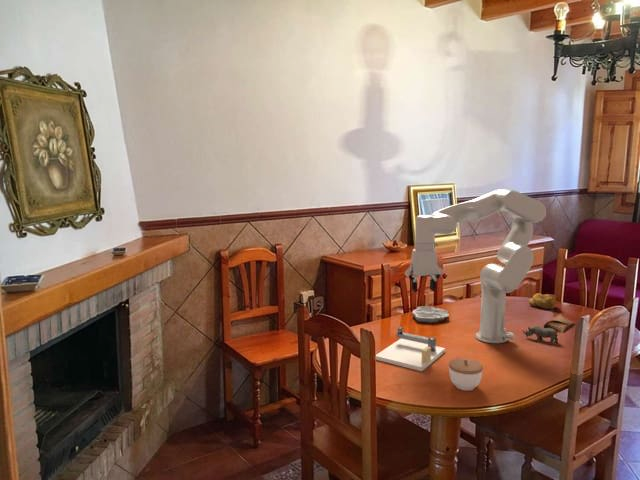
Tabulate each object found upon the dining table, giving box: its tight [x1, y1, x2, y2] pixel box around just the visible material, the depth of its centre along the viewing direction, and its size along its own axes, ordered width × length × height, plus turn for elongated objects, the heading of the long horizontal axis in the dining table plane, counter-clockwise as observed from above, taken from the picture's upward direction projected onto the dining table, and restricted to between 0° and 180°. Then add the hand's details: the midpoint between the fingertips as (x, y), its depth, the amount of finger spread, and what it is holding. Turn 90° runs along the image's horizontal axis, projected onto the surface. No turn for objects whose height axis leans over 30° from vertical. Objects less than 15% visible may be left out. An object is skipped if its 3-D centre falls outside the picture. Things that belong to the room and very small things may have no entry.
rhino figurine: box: [522, 325, 559, 345], centre depth 207 cm, size 4×14×6 cm, turn 56°
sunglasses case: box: [543, 313, 576, 334], centre depth 225 cm, size 18×7×7 cm, turn 138°
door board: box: [376, 338, 446, 372], centre depth 192 cm, size 19×22×6 cm
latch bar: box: [395, 326, 437, 351], centre depth 197 cm, size 16×3×6 cm, turn 55°
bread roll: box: [528, 292, 557, 310], centre depth 253 cm, size 13×10×8 cm
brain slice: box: [412, 305, 450, 324], centre depth 238 cm, size 20×17×3 cm
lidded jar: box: [448, 357, 484, 392], centre depth 166 cm, size 11×11×9 cm
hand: (423, 290), depth 200 cm, fingers open, 6 cm apart
